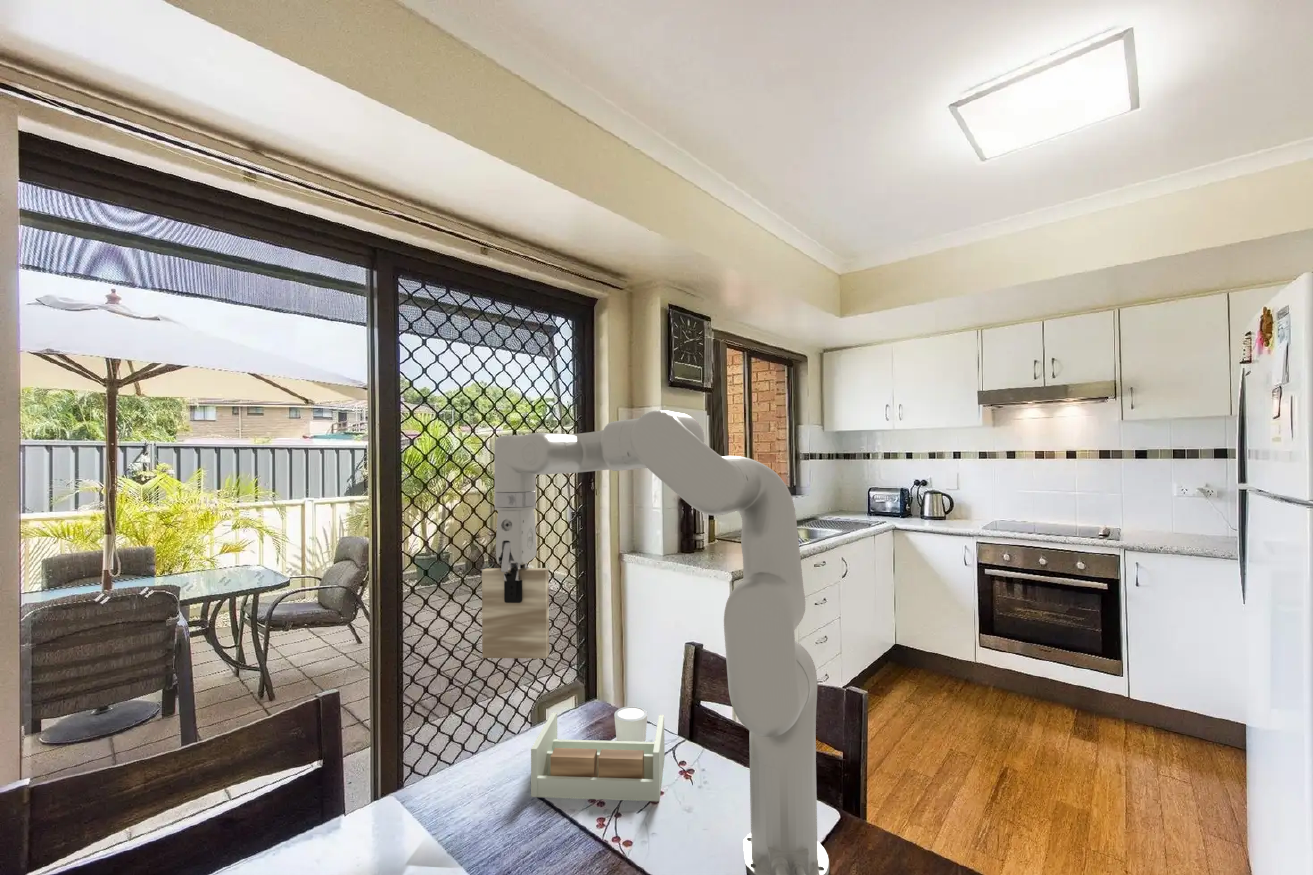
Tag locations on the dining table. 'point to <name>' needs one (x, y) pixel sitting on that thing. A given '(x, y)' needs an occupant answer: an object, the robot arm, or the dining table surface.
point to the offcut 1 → (574, 762)
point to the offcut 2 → (621, 764)
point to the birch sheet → (515, 616)
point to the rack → (597, 786)
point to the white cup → (631, 724)
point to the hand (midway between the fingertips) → (515, 599)
